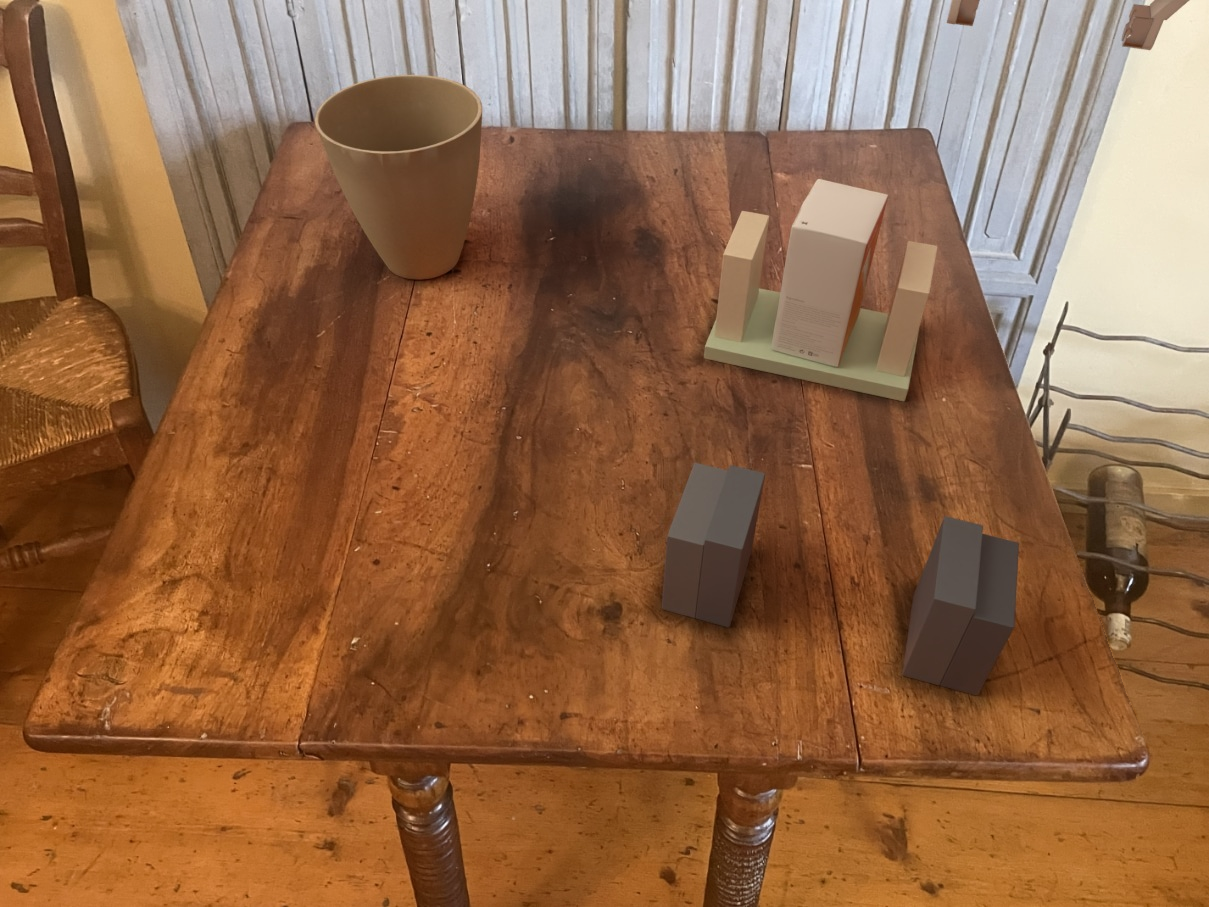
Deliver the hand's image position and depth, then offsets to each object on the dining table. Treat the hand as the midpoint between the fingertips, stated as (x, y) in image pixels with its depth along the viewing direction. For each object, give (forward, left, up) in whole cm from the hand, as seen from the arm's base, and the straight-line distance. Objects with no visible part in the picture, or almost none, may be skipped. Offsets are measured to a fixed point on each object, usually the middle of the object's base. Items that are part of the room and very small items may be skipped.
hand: (1046, 32), depth 55 cm
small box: (+10, -12, -34) cm, 37 cm away
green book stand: (+10, -12, -35) cm, 38 cm away
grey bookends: (+4, +17, -35) cm, 39 cm away
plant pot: (+50, -13, -35) cm, 63 cm away
